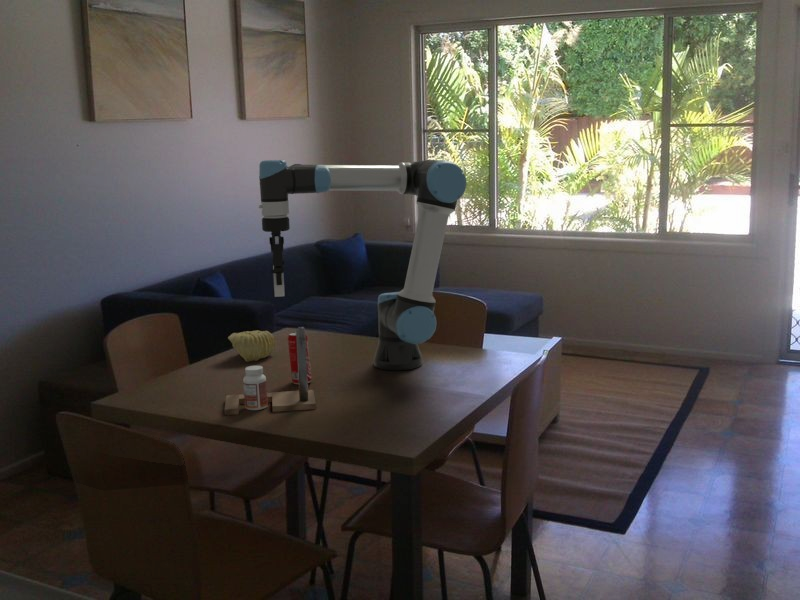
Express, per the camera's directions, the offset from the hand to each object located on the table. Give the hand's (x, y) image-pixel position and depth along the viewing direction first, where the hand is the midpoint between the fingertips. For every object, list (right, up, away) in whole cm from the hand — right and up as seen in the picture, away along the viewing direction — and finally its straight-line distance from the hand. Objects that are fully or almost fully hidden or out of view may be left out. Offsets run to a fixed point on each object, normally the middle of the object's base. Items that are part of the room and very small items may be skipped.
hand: (279, 292), depth 252 cm
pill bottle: (-5, -31, -10) cm, 33 cm away
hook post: (+8, -31, -12) cm, 35 cm away
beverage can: (+5, -27, +13) cm, 30 cm away
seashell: (-15, -22, +43) cm, 50 cm away
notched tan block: (-1, -31, -8) cm, 32 cm away
